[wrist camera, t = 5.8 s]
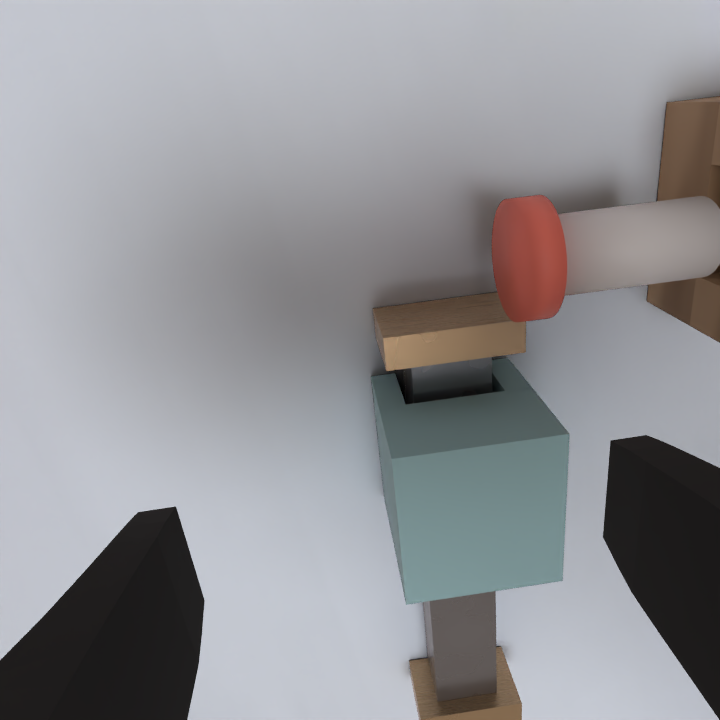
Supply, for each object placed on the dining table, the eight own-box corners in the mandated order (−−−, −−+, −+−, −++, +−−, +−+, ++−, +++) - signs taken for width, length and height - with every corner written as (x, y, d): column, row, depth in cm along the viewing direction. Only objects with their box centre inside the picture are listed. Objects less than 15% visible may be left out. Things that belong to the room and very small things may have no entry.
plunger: (670, 168, 15) (751, 182, 12) (658, 279, 16) (730, 313, 14) (490, 191, 15) (532, 210, 12) (492, 301, 16) (530, 340, 13)
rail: (497, 292, 18) (526, 319, 16) (501, 662, 25) (521, 720, 23) (372, 308, 18) (383, 338, 16) (411, 676, 25) (422, 736, 23)
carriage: (507, 357, 19) (569, 434, 15) (507, 481, 21) (562, 580, 17) (370, 376, 19) (391, 459, 15) (384, 499, 21) (406, 604, 17)
